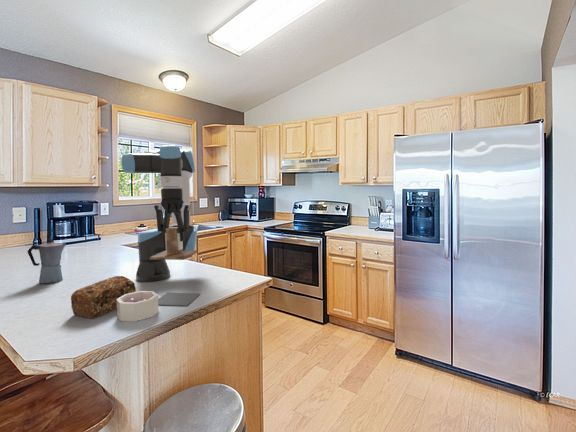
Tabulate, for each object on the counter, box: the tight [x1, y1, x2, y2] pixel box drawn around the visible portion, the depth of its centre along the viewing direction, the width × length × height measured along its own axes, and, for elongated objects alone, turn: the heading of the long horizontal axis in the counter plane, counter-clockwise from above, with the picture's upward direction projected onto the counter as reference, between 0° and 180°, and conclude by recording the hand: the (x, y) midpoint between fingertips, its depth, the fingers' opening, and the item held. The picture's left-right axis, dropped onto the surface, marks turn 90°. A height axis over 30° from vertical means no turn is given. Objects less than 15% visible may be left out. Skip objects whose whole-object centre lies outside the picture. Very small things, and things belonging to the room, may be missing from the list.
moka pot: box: [27, 238, 67, 284], centre depth 148 cm, size 10×15×20 cm, turn 155°
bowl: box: [116, 290, 160, 322], centre depth 109 cm, size 12×12×6 cm
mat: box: [158, 291, 201, 307], centre depth 123 cm, size 14×13×1 cm
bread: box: [70, 275, 137, 320], centre depth 115 cm, size 19×11×10 cm, turn 158°
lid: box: [149, 226, 198, 261], centre depth 121 cm, size 13×13×11 cm
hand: (174, 249), depth 121 cm, fingers closed on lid, 4 cm apart
